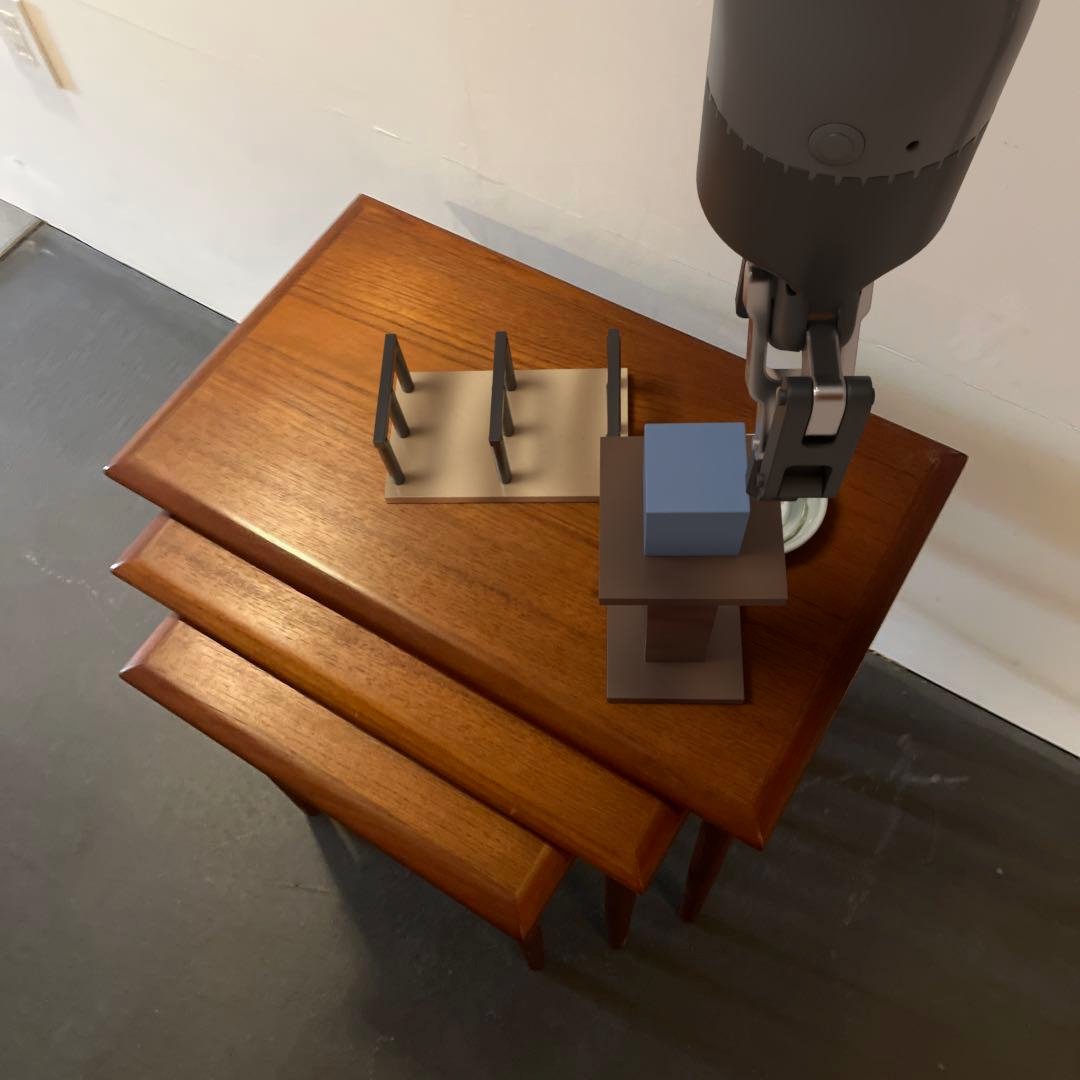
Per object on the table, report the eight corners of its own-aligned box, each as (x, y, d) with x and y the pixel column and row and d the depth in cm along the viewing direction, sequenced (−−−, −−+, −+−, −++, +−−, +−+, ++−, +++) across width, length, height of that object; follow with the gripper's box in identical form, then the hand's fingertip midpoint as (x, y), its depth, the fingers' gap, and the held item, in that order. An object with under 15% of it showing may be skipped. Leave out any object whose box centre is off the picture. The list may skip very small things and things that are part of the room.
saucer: (793, 433, 72) (798, 416, 70) (843, 548, 68) (850, 533, 66) (668, 468, 72) (669, 452, 70) (711, 585, 68) (714, 572, 66)
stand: (736, 578, 68) (775, 434, 50) (742, 704, 64) (788, 598, 46) (607, 578, 69) (600, 436, 51) (606, 702, 65) (598, 598, 47)
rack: (627, 374, 76) (627, 316, 69) (628, 501, 71) (628, 452, 64) (400, 378, 77) (378, 322, 70) (386, 503, 73) (362, 455, 66)
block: (734, 472, 49) (745, 421, 45) (738, 556, 47) (750, 512, 43) (642, 473, 50) (644, 422, 45) (643, 556, 48) (645, 512, 43)
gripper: (1053, 277, 22) (877, 556, 37) (965, -125, 28) (843, 256, 43) (718, 282, 23) (677, 555, 37) (699, -112, 28) (670, 259, 43)
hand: (766, 396), depth 40 cm, fingers open, 8 cm apart
